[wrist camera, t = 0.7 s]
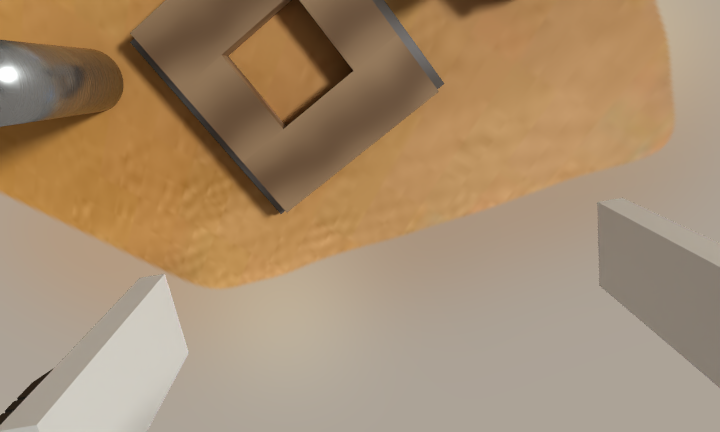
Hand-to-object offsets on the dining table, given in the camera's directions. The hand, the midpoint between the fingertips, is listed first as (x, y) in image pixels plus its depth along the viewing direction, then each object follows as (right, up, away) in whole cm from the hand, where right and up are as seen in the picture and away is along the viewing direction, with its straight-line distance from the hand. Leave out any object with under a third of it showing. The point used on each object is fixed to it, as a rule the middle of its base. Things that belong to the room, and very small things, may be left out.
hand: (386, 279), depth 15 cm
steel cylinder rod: (-20, +12, +21) cm, 31 cm away
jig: (-6, +13, +21) cm, 25 cm away
